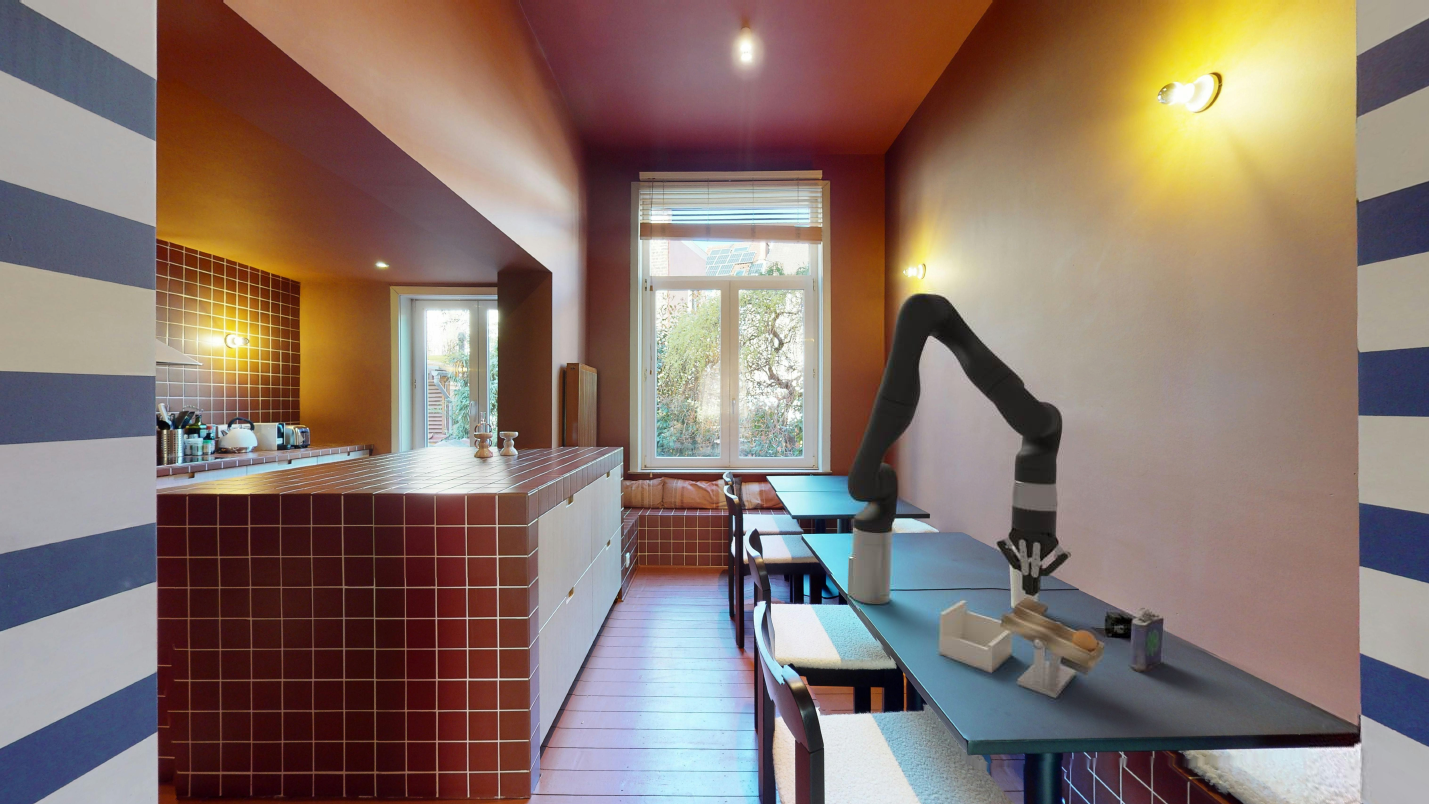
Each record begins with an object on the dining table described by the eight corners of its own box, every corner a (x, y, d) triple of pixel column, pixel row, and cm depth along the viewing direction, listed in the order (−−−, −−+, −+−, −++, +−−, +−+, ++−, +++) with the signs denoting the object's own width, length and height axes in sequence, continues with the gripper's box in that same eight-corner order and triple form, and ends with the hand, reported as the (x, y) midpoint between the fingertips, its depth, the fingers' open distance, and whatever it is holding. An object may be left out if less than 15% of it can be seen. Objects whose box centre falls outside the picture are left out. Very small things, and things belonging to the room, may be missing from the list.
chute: (997, 636, 104) (1002, 614, 103) (1021, 618, 113) (1026, 597, 112) (1088, 680, 94) (1095, 656, 93) (1106, 656, 103) (1113, 634, 102)
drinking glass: (1044, 616, 130) (1047, 552, 130) (1012, 613, 132) (1015, 549, 131) (1034, 605, 137) (1036, 544, 137) (1003, 602, 138) (1006, 542, 138)
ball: (1065, 641, 98) (1080, 629, 96) (1070, 635, 100) (1085, 623, 99) (1083, 659, 96) (1099, 647, 94) (1088, 652, 98) (1103, 641, 97)
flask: (1141, 673, 104) (1144, 616, 104) (1123, 666, 107) (1126, 610, 107) (1164, 662, 109) (1166, 607, 109) (1146, 656, 112) (1148, 602, 111)
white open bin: (938, 653, 110) (940, 613, 110) (961, 638, 117) (962, 600, 117) (991, 673, 103) (993, 629, 103) (1011, 654, 110) (1013, 614, 110)
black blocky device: (1097, 640, 119) (1098, 619, 119) (1078, 626, 127) (1079, 606, 126) (1160, 644, 118) (1161, 623, 118) (1137, 630, 125) (1138, 609, 125)
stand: (1017, 684, 99) (1019, 635, 99) (1039, 662, 108) (1040, 617, 107) (1055, 698, 95) (1057, 647, 95) (1075, 674, 103) (1077, 627, 103)
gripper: (990, 502, 111) (988, 589, 111) (1067, 513, 101) (1064, 609, 102) (1004, 497, 116) (1001, 581, 116) (1079, 508, 107) (1075, 599, 107)
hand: (1031, 594), depth 109 cm, fingers closed
